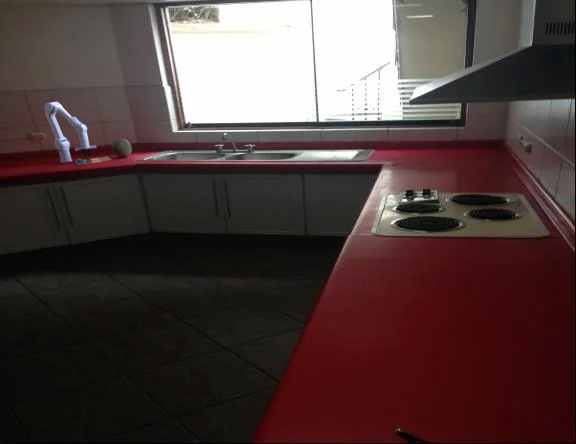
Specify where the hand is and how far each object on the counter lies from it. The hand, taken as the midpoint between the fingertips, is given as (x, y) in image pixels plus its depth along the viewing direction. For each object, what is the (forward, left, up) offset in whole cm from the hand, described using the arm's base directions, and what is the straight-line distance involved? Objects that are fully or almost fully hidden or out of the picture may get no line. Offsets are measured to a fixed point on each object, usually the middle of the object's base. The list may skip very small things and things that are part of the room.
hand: (88, 158), depth 318 cm
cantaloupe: (+8, +24, -2) cm, 25 cm away
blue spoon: (+1, -6, -1) cm, 6 cm away
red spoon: (+2, 0, -1) cm, 2 cm away
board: (+2, +3, -2) cm, 4 cm away
